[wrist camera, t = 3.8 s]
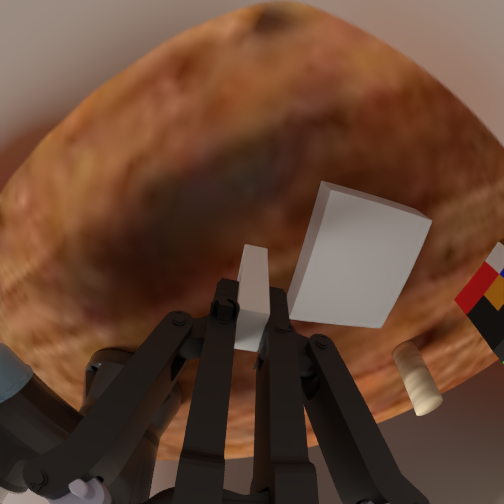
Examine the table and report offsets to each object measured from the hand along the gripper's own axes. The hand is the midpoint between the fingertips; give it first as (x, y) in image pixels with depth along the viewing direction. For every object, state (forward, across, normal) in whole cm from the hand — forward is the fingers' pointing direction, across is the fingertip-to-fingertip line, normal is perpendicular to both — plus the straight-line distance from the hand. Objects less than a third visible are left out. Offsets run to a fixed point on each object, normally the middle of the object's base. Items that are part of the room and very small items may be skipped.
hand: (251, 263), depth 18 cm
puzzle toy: (+7, +34, 0) cm, 34 cm away
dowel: (+6, +24, -12) cm, 27 cm away
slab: (+6, +10, 0) cm, 11 cm away
